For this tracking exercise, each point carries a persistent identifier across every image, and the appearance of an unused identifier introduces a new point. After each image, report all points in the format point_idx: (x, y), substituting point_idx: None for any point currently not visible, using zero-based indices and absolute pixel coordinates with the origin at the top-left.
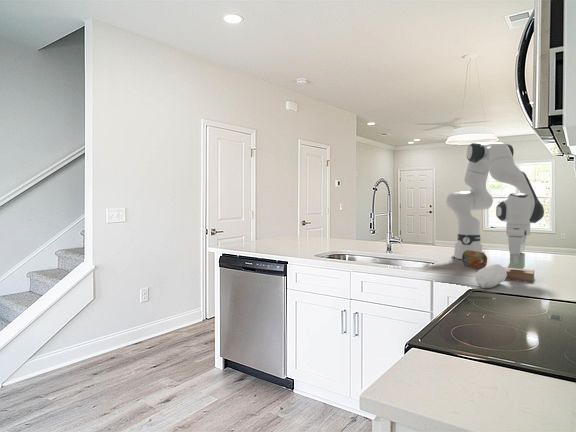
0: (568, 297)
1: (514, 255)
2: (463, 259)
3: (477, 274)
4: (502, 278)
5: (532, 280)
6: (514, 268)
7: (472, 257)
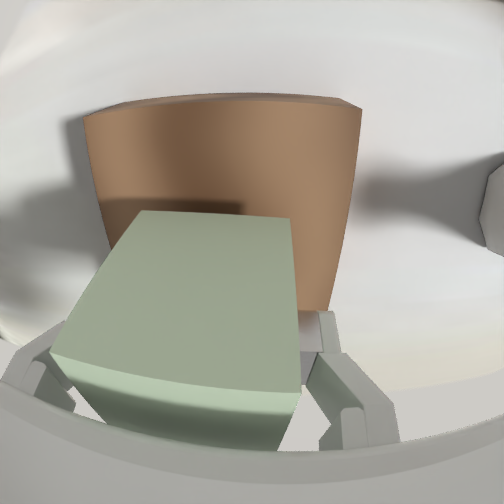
0: (24, 344)
1: (21, 363)
2: None
3: None
4: None
5: None
6: (334, 226)
7: None
